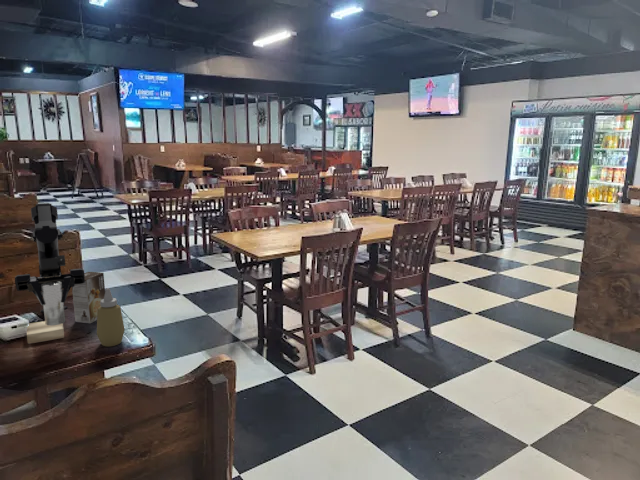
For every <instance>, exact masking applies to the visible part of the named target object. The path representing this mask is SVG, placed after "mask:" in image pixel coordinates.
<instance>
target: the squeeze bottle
mask: <svg viewBox="0 0 640 480" xmlns="http://www.w3.org/2000/svg"><path fill="white" fill-rule="evenodd" d="M100 305H101V306H100V307H99V308H98V312H97V320H96V336H97V338H98V340H99V342H100V344H101V346H103V347H115V346H117V345H119V344H121V343H122V341H123V338H124V335H125V324H124V319H123V313H122V309H121V306H120V305H118V300H117V298H115V297H113V294H112V291H111V289H110V288H109V287H108V288H105V296H104V299H102V300H101V301H100Z"/></svg>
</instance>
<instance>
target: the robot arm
mask: <svg viewBox="0 0 640 480" xmlns="http://www.w3.org/2000/svg"><path fill="white" fill-rule="evenodd" d="M30 213H31V215H30V216H31V221H32V222H34V229H35V230H32V239H33V243H34V242H36V246H37V251H38V252H37V254H38V264H39V265H38V272H39V276H31V274H30V273H25V274H17V275H15V276H14V284H15V285H14V286H15V289H16V291H17V292H23V291H28V292H30V293H33V294H34V296H35V297H36V299H37V300H38V301H39V303H40V305H41V306H42V308H43V309H41V310H40V313H44V306H43V297H42V288H41V285H42V284H43V283H46V282H51V281H59V282H61V283H62V293H63V303H66V300H67V297H68V294H69V292H70V290H71V289H72V287H74V286H75V285H74V284H83V283H85V274H84V273H85V270H84V269H83V268H72V269H69V273H65V274H62V270H61V269H62V268H61V267H63V266H66V257H65V254H61V255H60V253H59V241H61V239H62V238H63V237H64V236H63V232H62V231H61V230H60V228H58V227H57V220H59V216H58V207H57V206H55V205H53V204H52V203H49V202H42V203H36V204H35V206H33V207H31V208H30ZM67 308H68V305H64V310H65V309H67Z"/></svg>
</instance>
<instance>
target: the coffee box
mask: <svg viewBox="0 0 640 480" xmlns="http://www.w3.org/2000/svg"><path fill="white" fill-rule="evenodd" d="M84 274H85V283H83V284H74V285H75V286H74V287H71V291H72V301H73V310H74V320H75V323H83V324H92V323H94V322H97V312H98V308H99V307H100V306H101V305H100V301H101V300H102V299H104V296H105V290H106V286H105V275H104V272H97V271H87V272H84Z"/></svg>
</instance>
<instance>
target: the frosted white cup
mask: <svg viewBox="0 0 640 480" xmlns="http://www.w3.org/2000/svg"><path fill="white" fill-rule="evenodd" d="M41 288H42V291H41V292H42V299H43V306H44V307H43V306H42V307H43V309H44V312H43V314H44V321H45V324H46V325H50V326H52V325H59V324H62V323H63V324H64V323H65V322H66V315H65V314H66V313H65V309H64V306H65V304H64V303H63V293H62V283H61V282H59V281H51V282H46V283H43V284H42V285H41Z"/></svg>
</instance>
